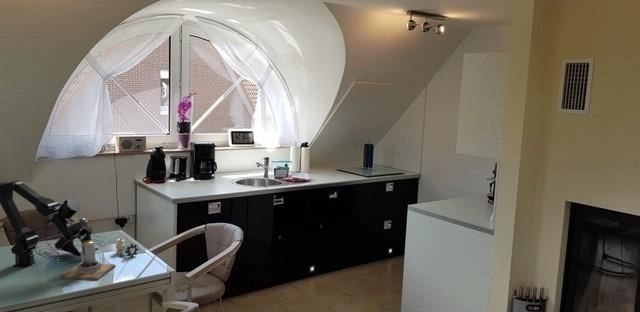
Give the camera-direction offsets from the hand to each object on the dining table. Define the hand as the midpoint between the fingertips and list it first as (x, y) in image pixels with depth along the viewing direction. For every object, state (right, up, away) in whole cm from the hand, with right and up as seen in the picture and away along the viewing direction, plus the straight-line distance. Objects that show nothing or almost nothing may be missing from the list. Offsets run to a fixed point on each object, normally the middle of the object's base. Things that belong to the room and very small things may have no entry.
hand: (86, 252), depth 219 cm
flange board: (+1, -9, +1) cm, 9 cm away
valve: (+7, -6, +25) cm, 27 cm away
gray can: (0, -8, +1) cm, 8 cm away
